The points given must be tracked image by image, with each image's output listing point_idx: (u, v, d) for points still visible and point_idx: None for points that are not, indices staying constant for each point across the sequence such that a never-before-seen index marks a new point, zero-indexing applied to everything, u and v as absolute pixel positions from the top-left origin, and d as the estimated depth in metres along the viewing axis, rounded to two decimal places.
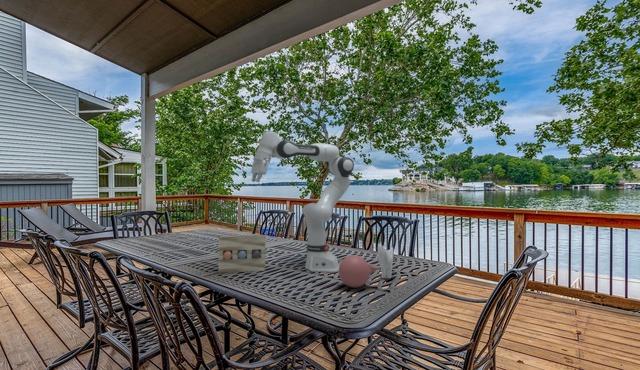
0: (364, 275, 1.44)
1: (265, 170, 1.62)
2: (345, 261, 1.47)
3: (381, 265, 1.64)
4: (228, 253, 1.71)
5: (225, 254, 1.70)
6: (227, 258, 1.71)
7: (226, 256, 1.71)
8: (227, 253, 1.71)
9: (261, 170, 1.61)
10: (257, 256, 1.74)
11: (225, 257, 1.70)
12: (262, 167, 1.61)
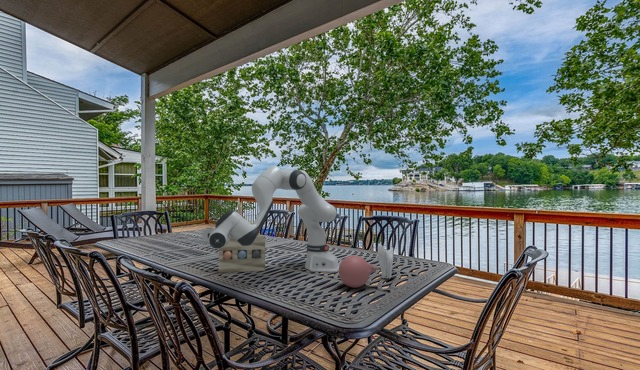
0: (364, 275, 1.44)
1: None
2: (345, 261, 1.47)
3: (381, 265, 1.64)
4: (228, 253, 1.71)
5: (225, 254, 1.70)
6: (227, 258, 1.71)
7: (226, 256, 1.71)
8: (227, 253, 1.71)
9: None
10: (257, 256, 1.74)
11: (225, 257, 1.70)
12: None
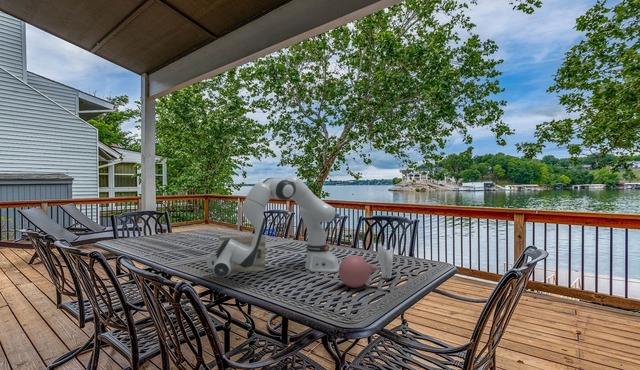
0: (364, 275, 1.44)
1: None
2: (345, 261, 1.47)
3: (381, 265, 1.64)
4: None
5: None
6: None
7: None
8: None
9: None
10: (257, 256, 1.74)
11: None
12: None
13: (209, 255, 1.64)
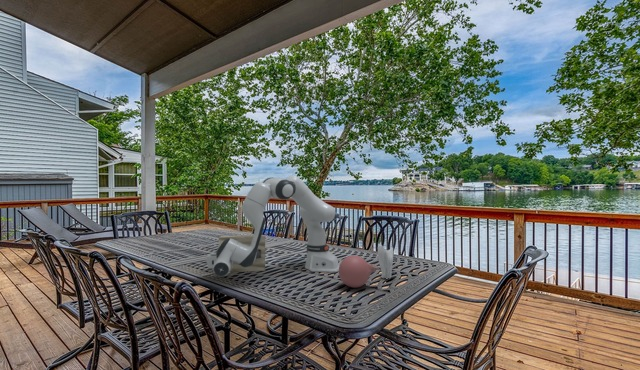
0: (364, 275, 1.44)
1: None
2: (345, 261, 1.47)
3: (381, 265, 1.64)
4: None
5: None
6: None
7: None
8: None
9: None
10: (257, 256, 1.74)
11: None
12: None
13: None
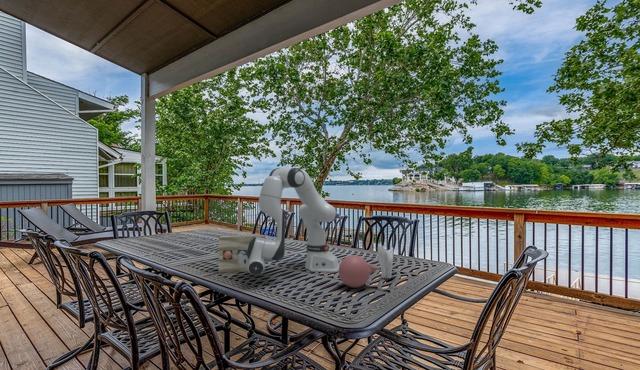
0: (364, 275, 1.44)
1: None
2: (345, 261, 1.47)
3: (381, 265, 1.64)
4: (228, 252, 1.72)
5: (225, 253, 1.72)
6: (227, 257, 1.72)
7: (227, 255, 1.72)
8: (227, 252, 1.72)
9: None
10: None
11: (225, 256, 1.72)
12: None
13: (240, 254, 1.67)
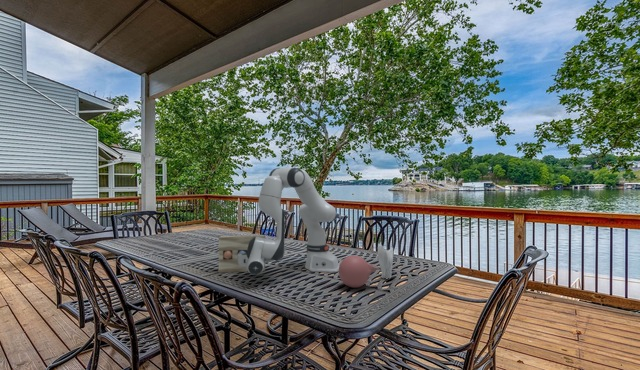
0: (364, 275, 1.44)
1: None
2: (345, 261, 1.47)
3: (381, 265, 1.64)
4: (228, 252, 1.72)
5: (225, 253, 1.72)
6: (227, 257, 1.72)
7: (227, 255, 1.72)
8: (227, 252, 1.72)
9: None
10: None
11: (225, 256, 1.72)
12: None
13: None
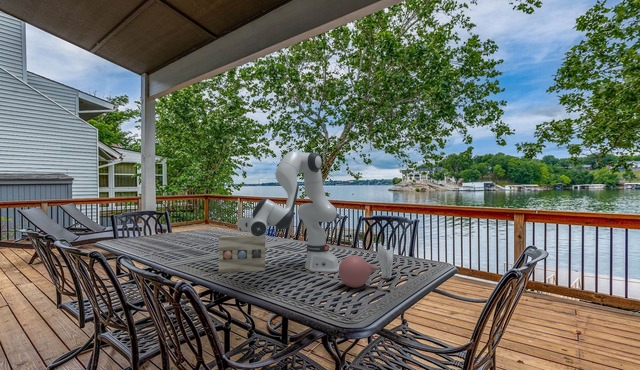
0: (364, 275, 1.44)
1: None
2: (345, 261, 1.47)
3: (381, 265, 1.64)
4: (228, 252, 1.72)
5: (225, 253, 1.72)
6: (227, 257, 1.72)
7: (227, 255, 1.72)
8: (227, 252, 1.72)
9: None
10: (257, 255, 1.76)
11: (225, 256, 1.72)
12: None
13: None
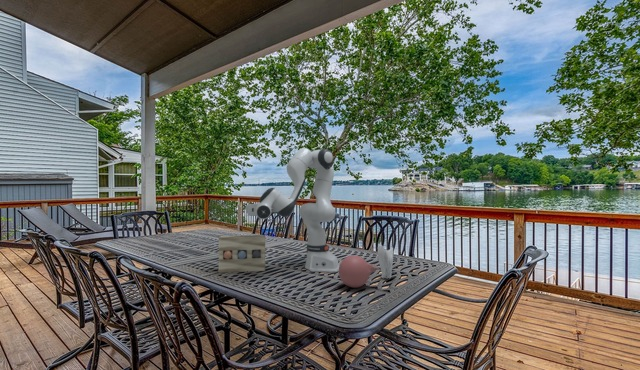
0: (364, 275, 1.44)
1: None
2: (345, 261, 1.47)
3: (381, 265, 1.64)
4: (228, 252, 1.72)
5: (225, 253, 1.72)
6: (227, 257, 1.72)
7: (227, 255, 1.72)
8: (227, 252, 1.72)
9: None
10: (257, 255, 1.76)
11: (225, 256, 1.72)
12: None
13: None
